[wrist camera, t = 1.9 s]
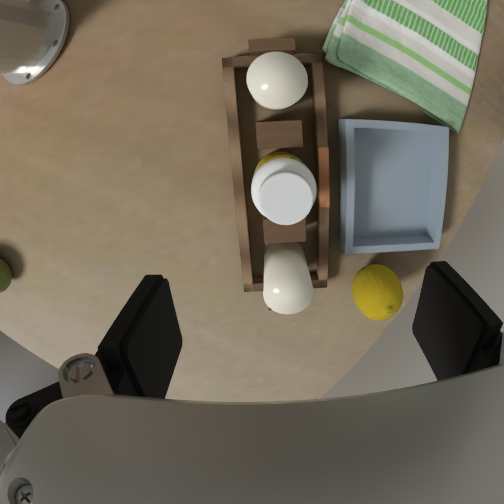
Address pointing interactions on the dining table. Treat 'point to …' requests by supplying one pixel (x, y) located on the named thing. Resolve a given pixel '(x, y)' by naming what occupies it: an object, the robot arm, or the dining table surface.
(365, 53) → the dish towel
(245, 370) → the dining table surface
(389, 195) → the tray
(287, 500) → the robot arm
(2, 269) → the pear
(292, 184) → the supplement bottle
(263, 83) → the cylinder
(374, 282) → the lemon
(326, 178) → the clip rack
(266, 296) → the cartridge
